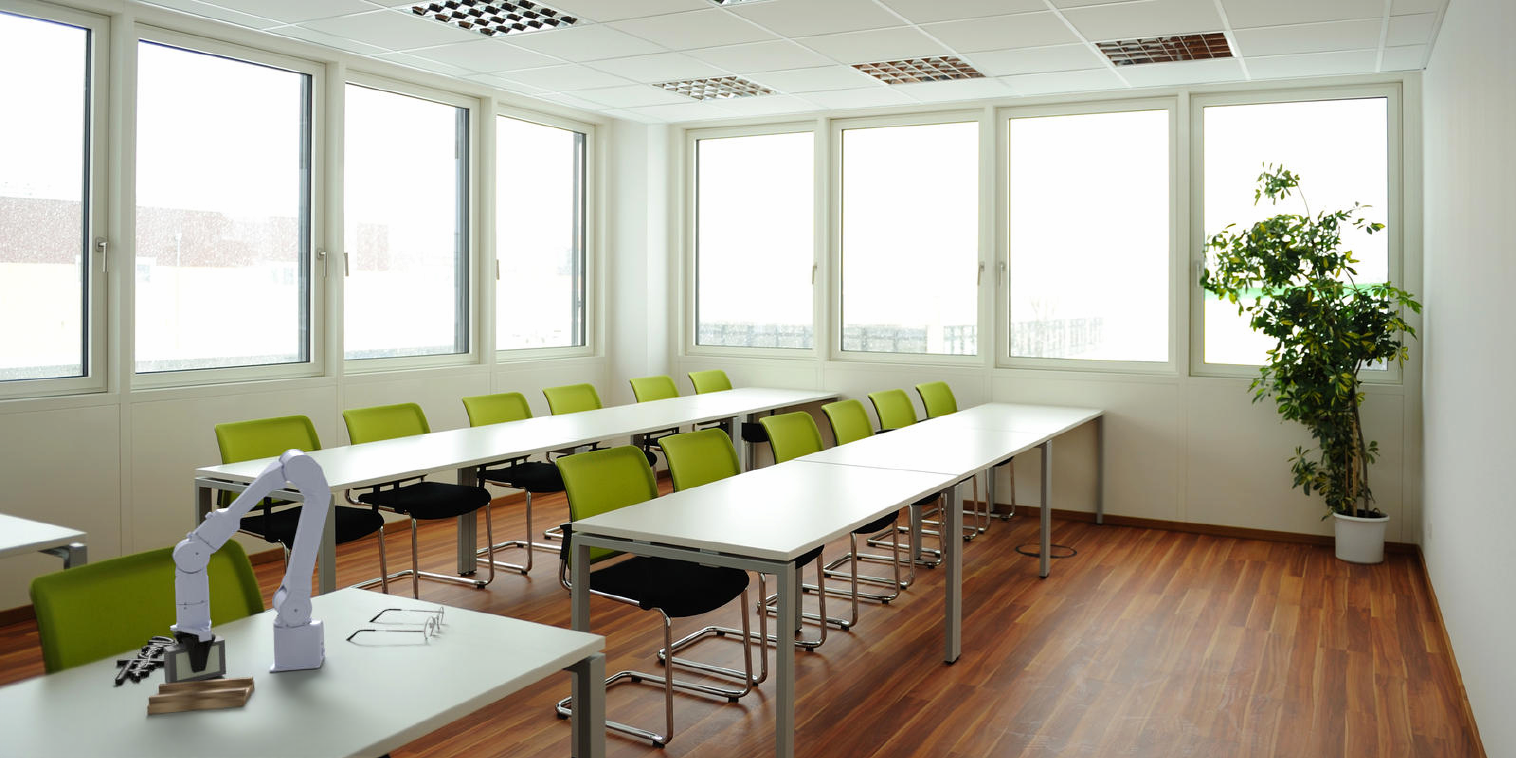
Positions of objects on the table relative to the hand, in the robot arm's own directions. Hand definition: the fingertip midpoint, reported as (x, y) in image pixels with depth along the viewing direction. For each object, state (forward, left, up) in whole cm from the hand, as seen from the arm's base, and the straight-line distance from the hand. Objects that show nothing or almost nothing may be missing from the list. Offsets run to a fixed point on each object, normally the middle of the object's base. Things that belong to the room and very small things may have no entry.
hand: (195, 668), depth 204 cm
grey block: (0, 0, -2) cm, 2 cm away
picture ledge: (-4, +12, -3) cm, 12 cm away
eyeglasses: (-36, -23, -3) cm, 43 cm away
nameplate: (+13, -15, -3) cm, 20 cm away
